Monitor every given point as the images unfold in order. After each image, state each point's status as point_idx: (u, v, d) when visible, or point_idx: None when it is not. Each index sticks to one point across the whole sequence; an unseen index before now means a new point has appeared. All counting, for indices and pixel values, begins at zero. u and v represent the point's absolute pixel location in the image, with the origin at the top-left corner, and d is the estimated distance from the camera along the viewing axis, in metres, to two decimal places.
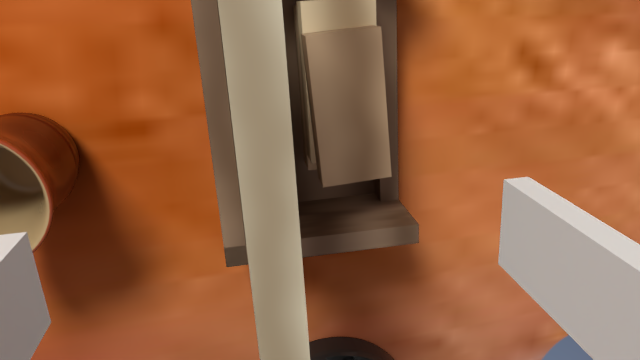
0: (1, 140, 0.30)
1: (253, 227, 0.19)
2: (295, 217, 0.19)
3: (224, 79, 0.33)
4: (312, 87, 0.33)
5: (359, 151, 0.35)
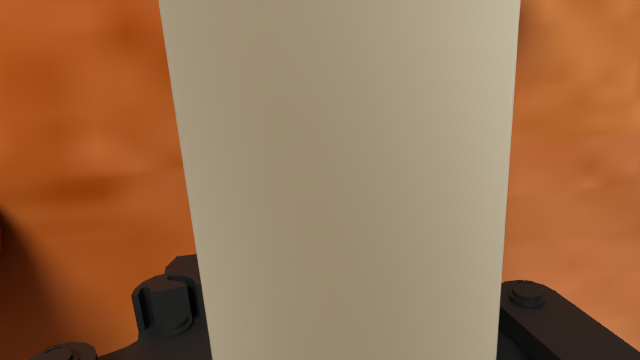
0: None
1: None
2: None
3: None
4: None
5: None
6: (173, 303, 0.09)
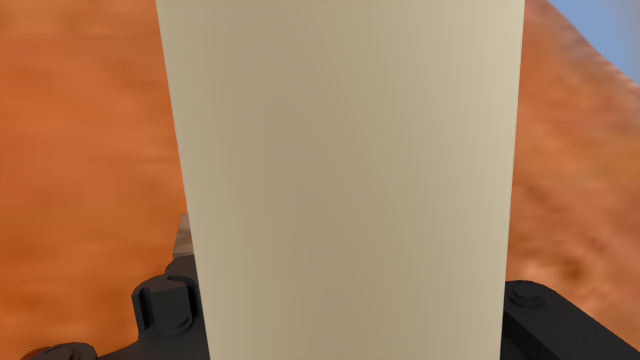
0: None
1: None
2: None
3: None
4: None
5: None
6: (173, 303, 0.09)
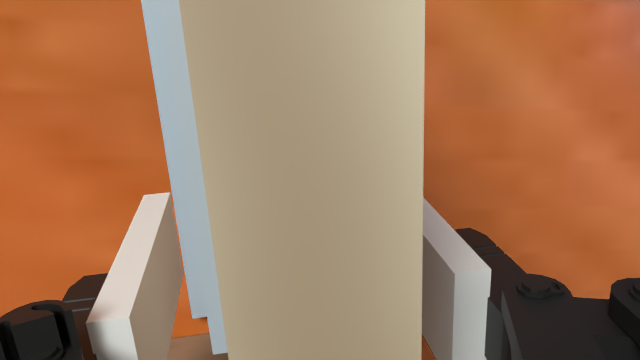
0: None
1: None
2: None
3: None
4: None
5: None
6: (39, 333, 0.09)
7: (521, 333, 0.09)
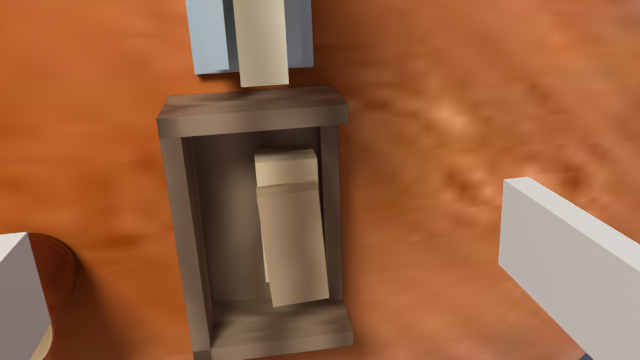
0: None
1: None
2: None
3: (192, 229, 0.41)
4: (263, 234, 0.42)
5: (302, 280, 0.44)
6: None
7: None
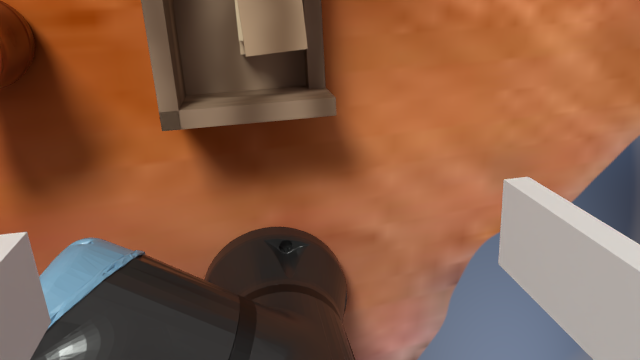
0: None
1: None
2: None
3: None
4: None
5: (277, 23, 0.40)
6: None
7: None
